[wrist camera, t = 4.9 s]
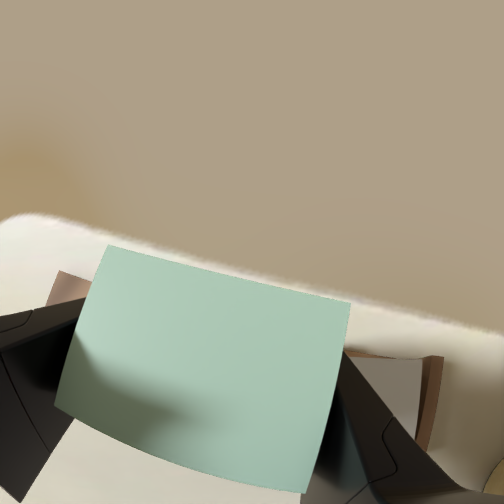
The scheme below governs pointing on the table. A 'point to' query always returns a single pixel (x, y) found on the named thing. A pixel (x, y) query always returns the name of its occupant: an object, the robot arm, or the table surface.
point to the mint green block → (205, 368)
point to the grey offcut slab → (395, 386)
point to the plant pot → (496, 480)
